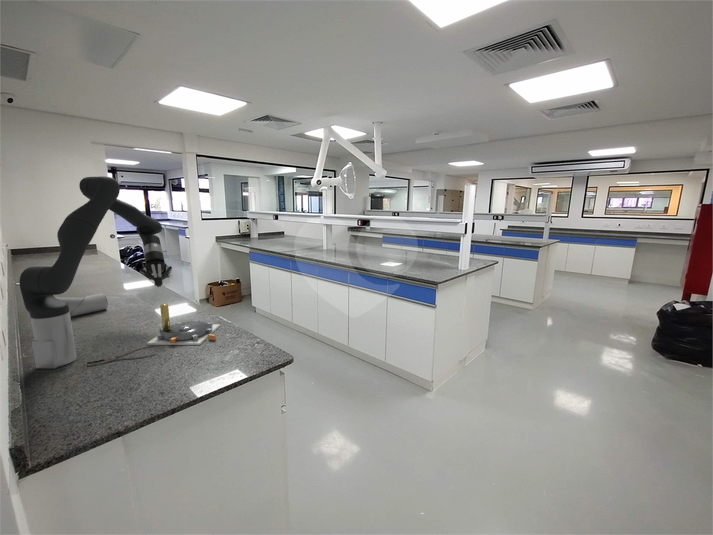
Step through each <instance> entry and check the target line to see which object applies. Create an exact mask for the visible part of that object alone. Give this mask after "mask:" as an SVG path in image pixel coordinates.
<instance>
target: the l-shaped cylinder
mask: <svg viewBox="0 0 713 535" xmlns="http://www.w3.org/2000/svg"><path fill="white" fill-rule="evenodd" d="M54 297H55V298H57V299H58V300H60V301H63V302H65V303H67V304H68V306H69V311H70V318H72V317H77V316H82V315H85V314H91V313H95V312H99V311H100V312H101V311H103V310H104V311H105V310H107V309H108V308H109V302H108V301H109V300H108V298H107V296H106V295H105V293H97V294H90V295H86V296H85V297H63V296H62V297H57V296H54Z"/></svg>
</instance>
